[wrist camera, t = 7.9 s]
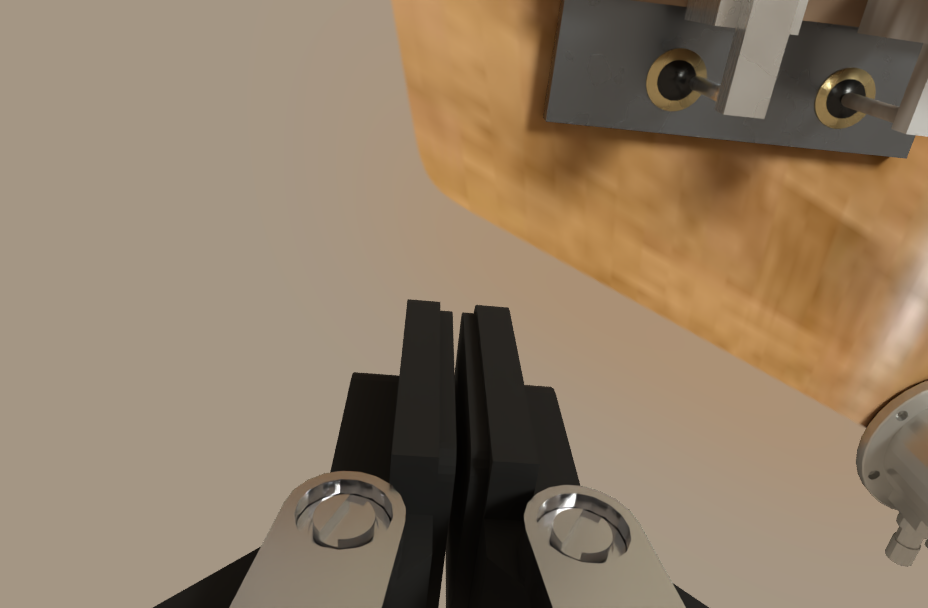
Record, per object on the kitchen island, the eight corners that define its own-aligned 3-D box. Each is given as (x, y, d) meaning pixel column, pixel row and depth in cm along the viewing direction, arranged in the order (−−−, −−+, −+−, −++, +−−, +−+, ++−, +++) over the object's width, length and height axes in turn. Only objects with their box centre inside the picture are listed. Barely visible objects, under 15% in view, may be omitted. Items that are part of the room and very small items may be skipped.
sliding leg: (728, 96, 38) (784, 121, 32) (659, 89, 38) (702, 112, 32) (767, -49, 35) (838, -53, 29) (692, -58, 35) (747, -64, 28)
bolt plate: (894, 153, 42) (908, 159, 40) (543, 117, 40) (546, 121, 39) (963, -26, 37) (981, -26, 36) (572, -75, 36) (577, -77, 34)
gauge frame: (915, 115, 39) (1013, 145, 33) (561, 77, 38) (587, 100, 31) (966, -17, 36) (1087, -14, 30) (584, -64, 35) (618, -72, 28)
